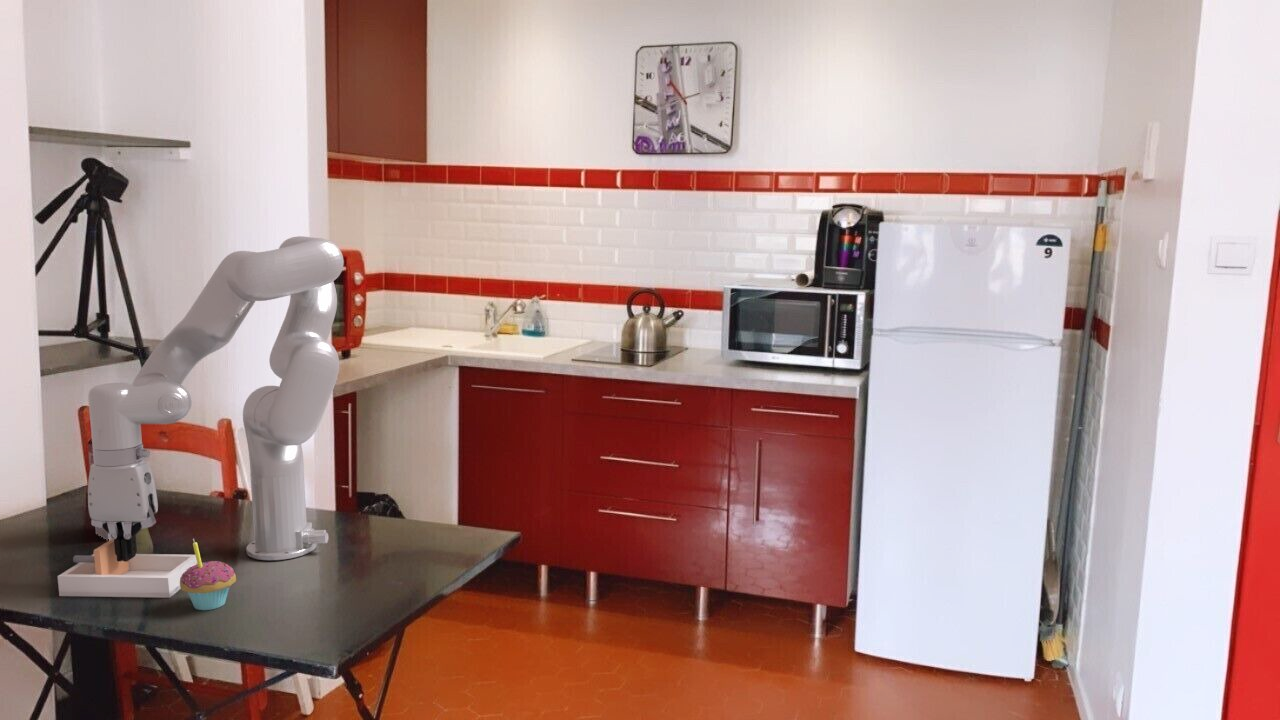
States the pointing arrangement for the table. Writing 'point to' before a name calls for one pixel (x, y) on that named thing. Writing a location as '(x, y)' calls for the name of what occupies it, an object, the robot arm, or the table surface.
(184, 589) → the cupcake
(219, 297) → the robot arm
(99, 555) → the pusher
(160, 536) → the table surface
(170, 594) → the white tray
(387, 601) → the table surface
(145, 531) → the fennel bulb
